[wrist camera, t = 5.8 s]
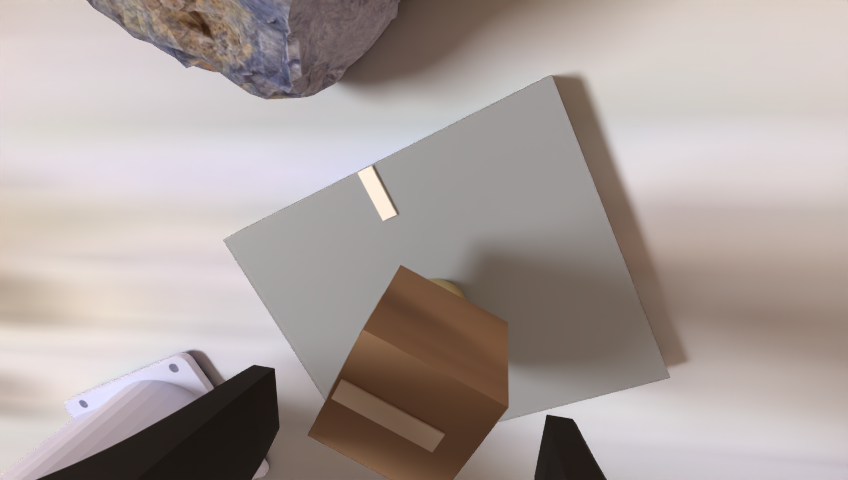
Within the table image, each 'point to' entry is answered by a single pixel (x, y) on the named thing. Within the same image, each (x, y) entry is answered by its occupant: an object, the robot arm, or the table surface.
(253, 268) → the plate
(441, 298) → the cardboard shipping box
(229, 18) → the rock
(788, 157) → the table surface
